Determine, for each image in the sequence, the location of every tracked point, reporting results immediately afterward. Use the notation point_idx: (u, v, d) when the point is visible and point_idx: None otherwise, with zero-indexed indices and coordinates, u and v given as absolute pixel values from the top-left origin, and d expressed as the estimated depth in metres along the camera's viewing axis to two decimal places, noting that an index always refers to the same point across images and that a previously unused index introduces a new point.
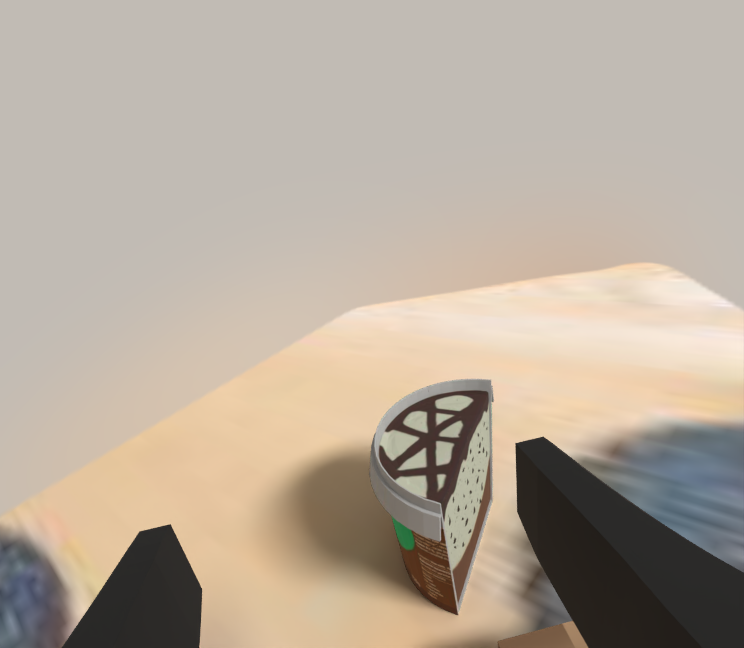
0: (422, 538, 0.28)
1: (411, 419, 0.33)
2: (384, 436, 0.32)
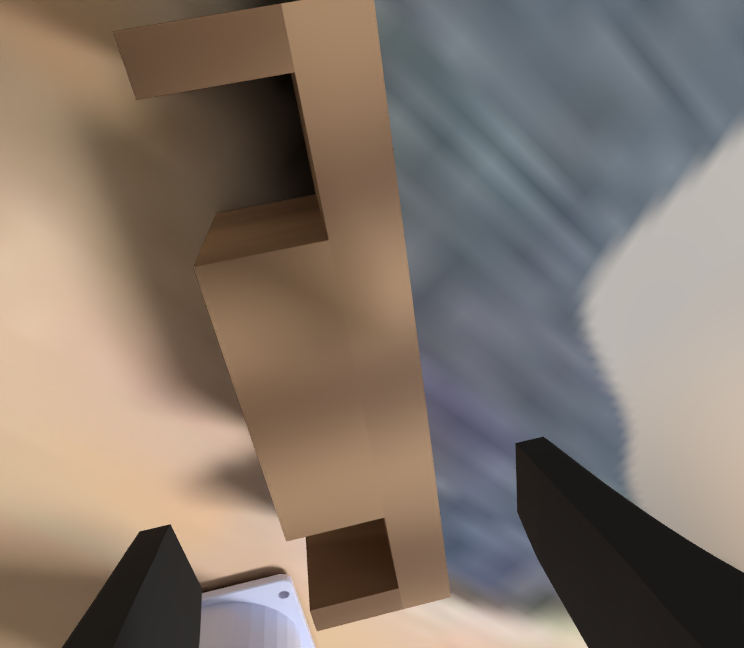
0: None
1: None
2: None
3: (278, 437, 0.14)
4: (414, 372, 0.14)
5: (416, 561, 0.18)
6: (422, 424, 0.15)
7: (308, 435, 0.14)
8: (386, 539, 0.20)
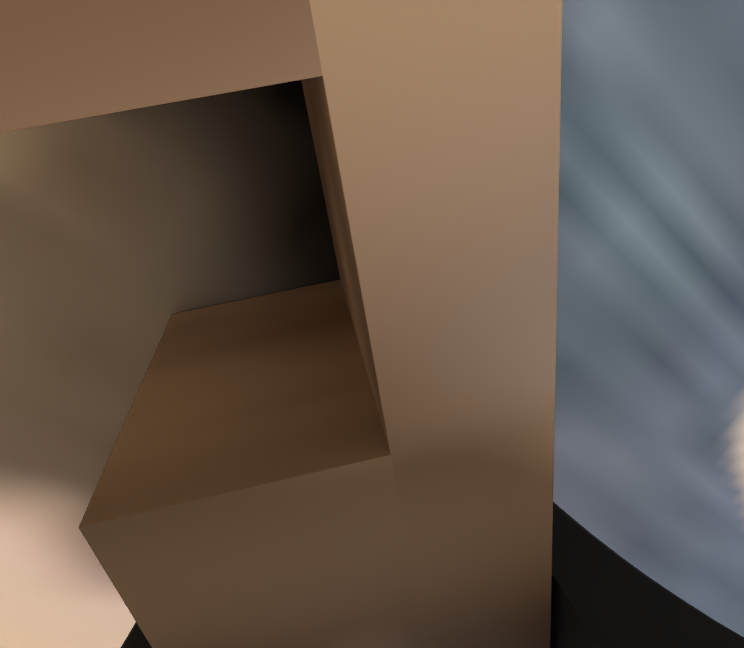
0: None
1: None
2: None
3: None
4: (537, 647, 0.07)
5: None
6: None
7: None
8: None
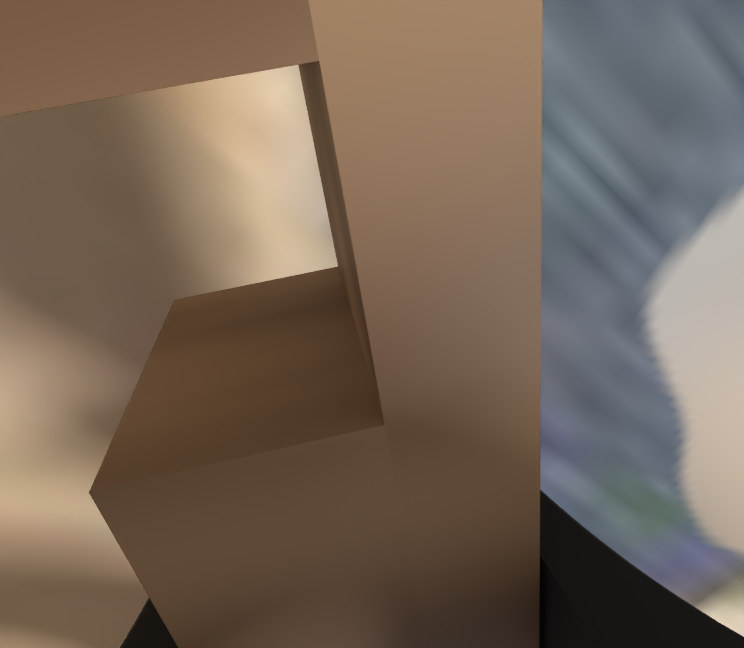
0: None
1: None
2: None
3: None
4: (526, 617, 0.08)
5: None
6: None
7: None
8: None
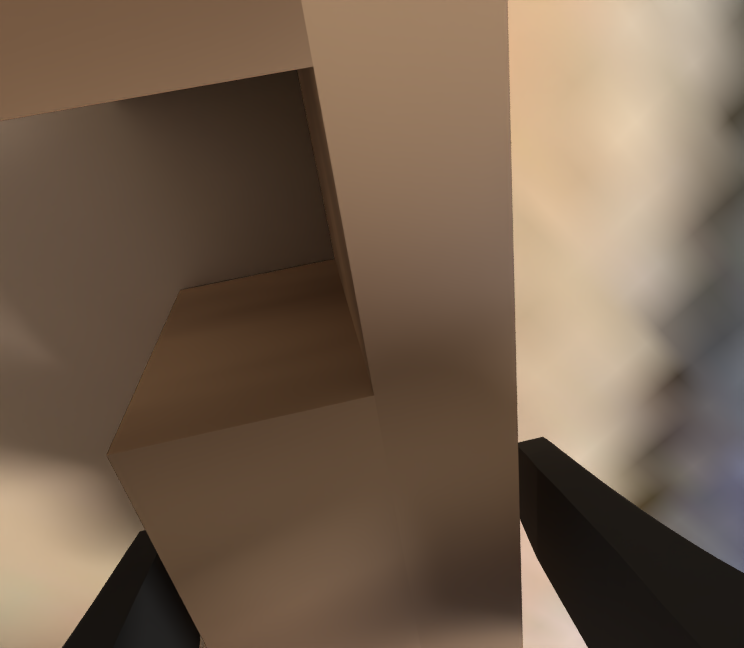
0: None
1: None
2: None
3: None
4: (509, 583, 0.08)
5: None
6: (513, 647, 0.09)
7: None
8: None
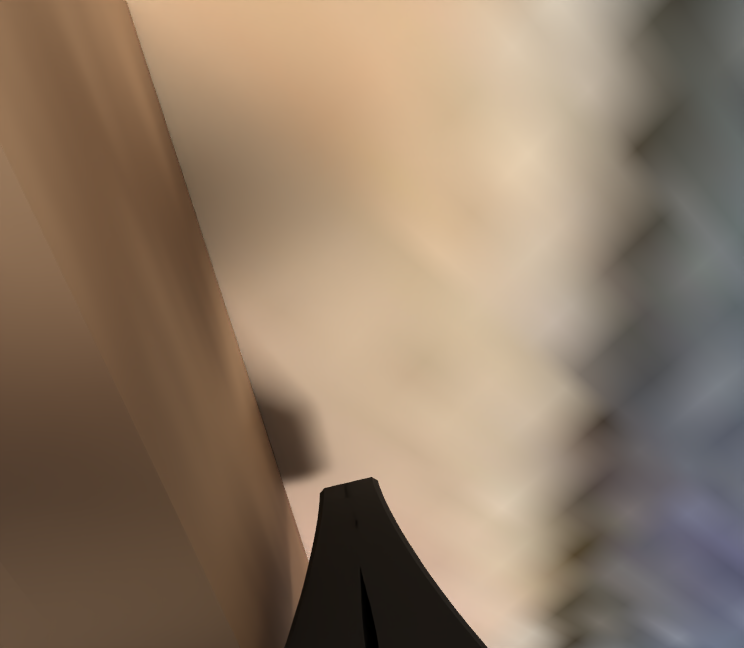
0: None
1: None
2: None
3: None
4: None
5: None
6: None
7: None
8: None
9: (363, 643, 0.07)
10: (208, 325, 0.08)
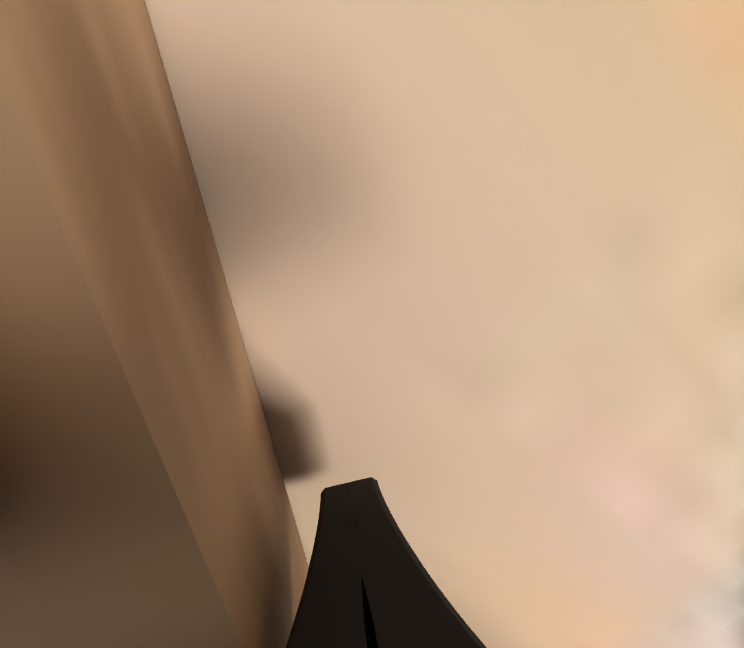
0: None
1: None
2: None
3: None
4: None
5: None
6: None
7: None
8: None
9: (364, 642, 0.07)
10: (215, 319, 0.08)
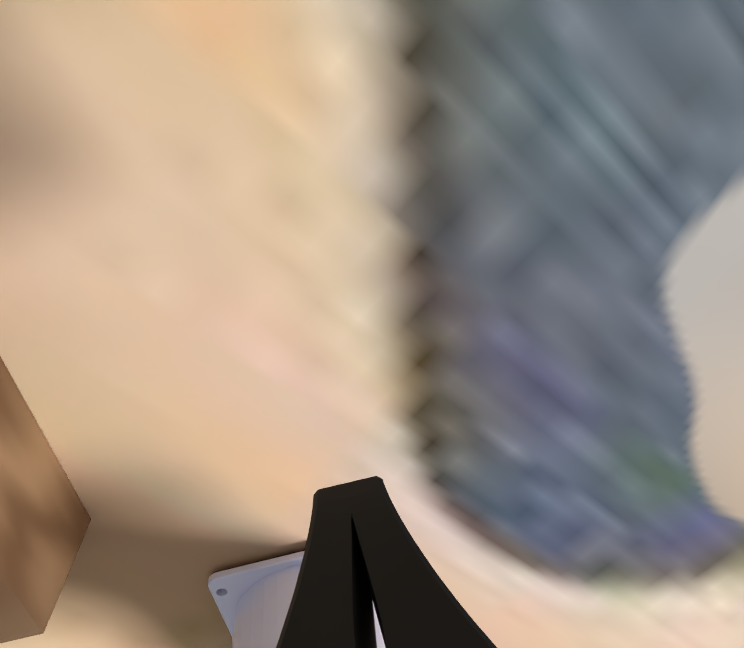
0: None
1: None
2: None
3: None
4: None
5: None
6: None
7: None
8: None
9: (354, 645, 0.07)
10: None
